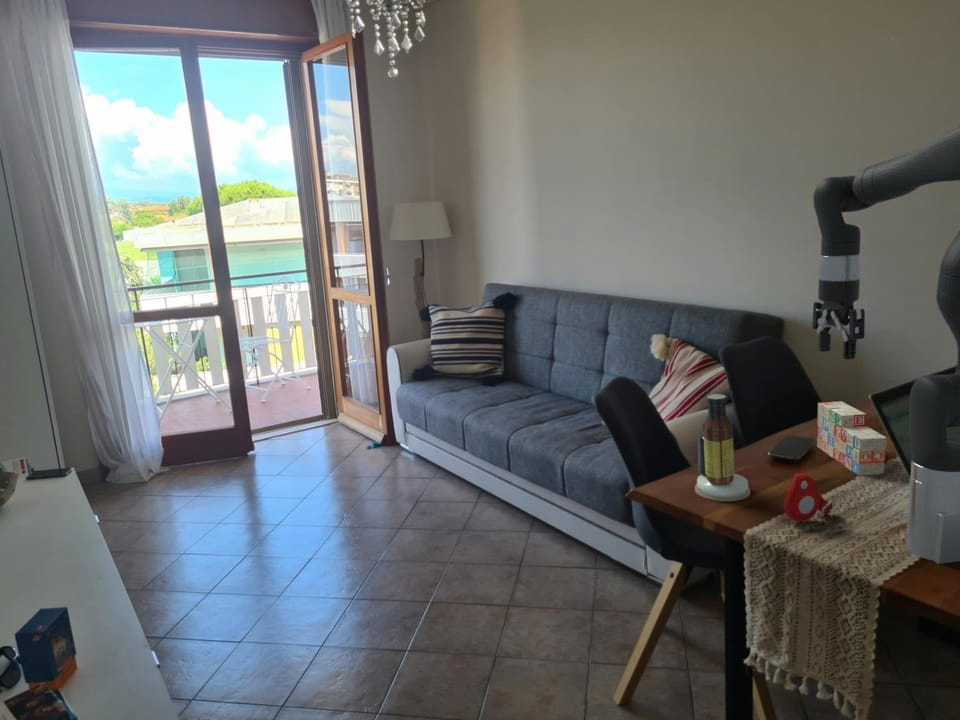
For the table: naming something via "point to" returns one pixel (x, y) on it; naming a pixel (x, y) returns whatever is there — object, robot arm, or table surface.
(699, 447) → the supplement bottle
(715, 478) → the sauce bottle
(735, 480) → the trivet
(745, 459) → the table surface
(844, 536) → the table surface
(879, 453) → the stack of blocks
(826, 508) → the tracker holder
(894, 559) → the table surface
